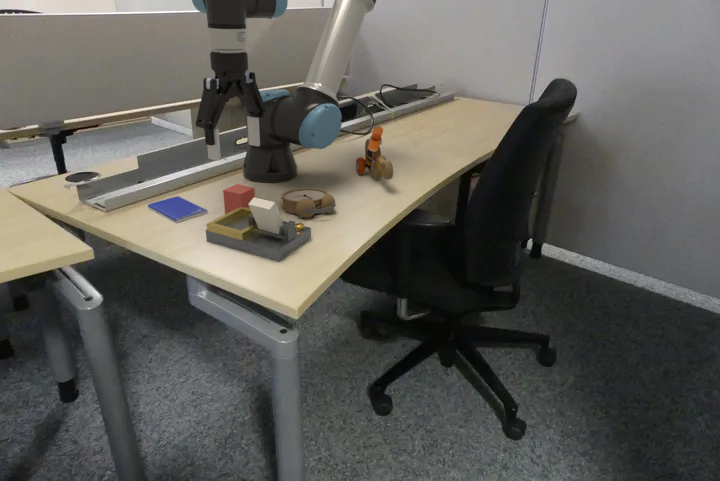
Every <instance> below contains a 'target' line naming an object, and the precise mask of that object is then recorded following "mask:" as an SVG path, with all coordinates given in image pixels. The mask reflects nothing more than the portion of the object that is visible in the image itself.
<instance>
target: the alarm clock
mask: <svg viewBox="0 0 720 481" xmlns="http://www.w3.org/2000/svg"><path fill="white" fill-rule="evenodd" d="M280 200H282V201H281V203H282V210H283V211H285V212H286V213H289V214H294V215H298V216H299V217H300V218H302V219H310V218H311V217H313V216H314V215H315V214H327V215H328V214H330V213H332V212H333V211H334V209H335V207H336V205H337V204H336V199H335V197H334V196H333V195H332V194H330V193H329V192H328V191H327V190H324V189H322V188H313V187H303V188H301V187H299V188H294V189H290V190H287V191H285V192H283V193H281V197H280Z"/></svg>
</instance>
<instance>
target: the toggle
mask: <svg viewBox="0 0 720 481" xmlns="http://www.w3.org/2000/svg"><path fill="white" fill-rule="evenodd" d="M248 205H249V207H250V209H251V212H252V214H253V216H254V219H255V221H256V223H257V229H258V230H261V231H265V232H269V233H272V234H276V235H280V236H284V225H283V222H282V221H283V218H282V217H281V214H280V212H279V210H278V207H277V204H276V202H274V201H271V200H266V199H262V198H258V197H255V198H253V199H252V200H251V202H250V203H249V204H248ZM281 218H282V219H281Z"/></svg>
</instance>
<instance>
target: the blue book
mask: <svg viewBox="0 0 720 481" xmlns="http://www.w3.org/2000/svg"><path fill="white" fill-rule="evenodd" d="M147 209H148V210H151V211H153V212H154V213H156V214H158V215H160V216H161V217H163V218H165V219H167V220H169V221H171V222H172V223H175V224H180V223H183V222H185V221H188V220H192V219H194V218H198V217H201V216H205V215H207V214H209V211H208V210H207V209H206V208H204V207H202V206H200V205H198V204H195V203H193V202H191V201H189V200H187V199H185V198H182V197H181V196H177V195H175V196H173V197H169V198H165V199H162V200H159V201H155V202H151V203H148V204H147Z"/></svg>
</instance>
